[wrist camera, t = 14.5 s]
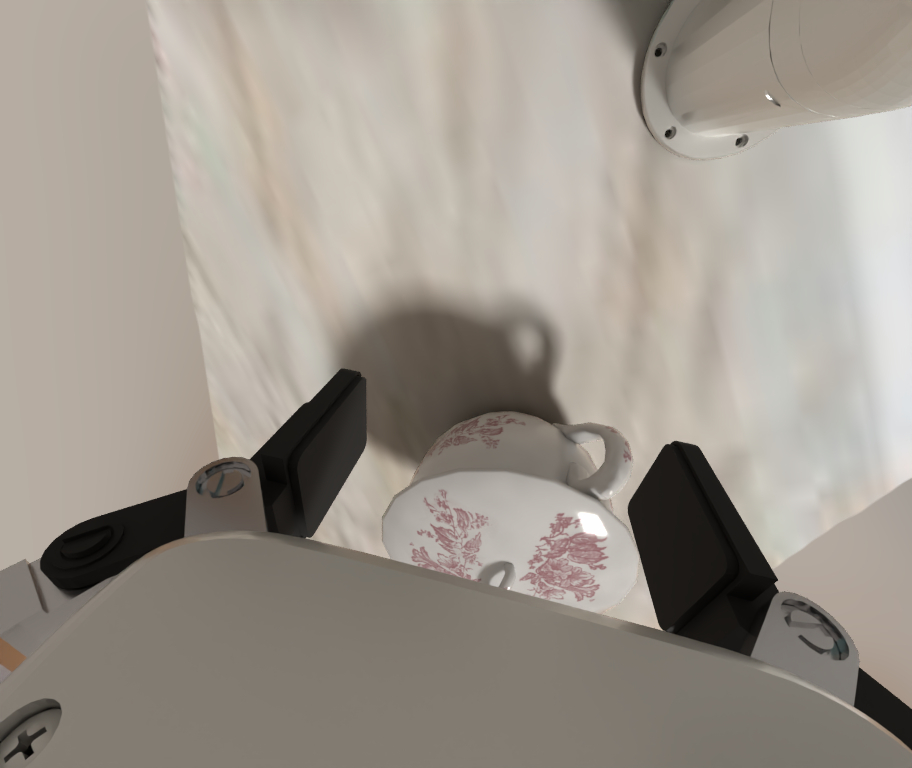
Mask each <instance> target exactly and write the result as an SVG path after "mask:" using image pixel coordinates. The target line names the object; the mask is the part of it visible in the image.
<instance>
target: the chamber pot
mask: <svg viewBox="0 0 912 768" xmlns="http://www.w3.org/2000/svg"><path fill="white" fill-rule="evenodd" d="M593 441H603V442H604V444H605V450H606V452H605V462H604V463H603V464H602V466H601V467H600V468H599V470H597V468H596V466H595V464H594V462H593V460H592V458H591V456H590V455H589V453H588V452H587V451H586V450H585V449H584V448H583V447H582V446H581V445H580V444H583V443H588V442H593ZM632 467H633V457H632V453H631V448H630V445H629V443H628V441H627V440H626V439H625V437H624V436H623V435H622V433H620V432H619V431H618V430H616V429H615V428H613V427H609V426H605V425H601V424H597V423H584V424H577V425H562V424H558V423H553V424H550V423H548V422H546V421H544V420H542V419H541V418H539V417H537V416H533V415H529V414H524V413H519V412H514V411H505V412H489V413H486V414H483V415H480V416H477V417H474V418H471V419H468V420H466V421H463V422H461V423H458V424H456V425H454V426H453V427H452V428H450V429H449V430H448V431H446V432H445V433H444V434H442V435H441V436H440V437H438V438H437V439H436V441H435V442H434V443H433V445H432V446H431V448H430V449H429V450H428V452H427V453H426V454H425V456H424V458H423V459H422V461H421V463H420V464H419V466H418V468H417V469H416V471H415V473H414V475H413V477H412V480H411V482H410V485H409V486H408V487H407V488H405V489H404V490H402V491H401V492H399V493H398V494H396V495H395V496H394V497H393V499H392V501H391V503H390V504H389V506H388V508H387V509H386V511H385V513H384V515H383V516H382V542H383V544H384V546H385V548H386V550H387V552H388V555H389V557H390V559H391V560H395V561H399V562H403V563H407V564H411V565H415V566H419V567H423V568H426V569H430V570H434V571H438V572H442V573H446V574H450V575H454V576H457V577H461V578H465V579H469V580H473V581H477V582H480V583H484V584H488V585H492V586H496V587H500V588H503V589H507V590H511V591H515V592H519V593H522V594H526V595H530V596H534V597H538V598H542V599H545V600H549V601H553V602H557V603H561V604H564V605H568V606H572V607H576V608H579V609H583V610H587V611H590V612H594V613H598V614H603V613H605V612H606V611H608V610H610V609H612V608H613V607H615V606H617V605H619V604H620V603H621V602H622V600H623V599H624V598H625V596H626V595H627V594H628V592H629V591H630V590H631V589H632V587H633V586H634V585H635V583H636V582H637V580H638V571H639V562H640V555H639V551H638V549H637V547H636V545H635V542H634V540H633V538H632V536H631V534H630V532H629V529H628V527H627V526H626V525H625V524H624V523H623V522H622V521H620V520H619V519H618V518H617V517H616V516H615V515H614V511H613V507H612V503H611V497H612V496H614V495H615V494H617V493H618V492H620V491H621V490H622V488H623V487H624V485H625V484H626V483H627V481H628V480H629V478H630V477H631V472H632Z"/></svg>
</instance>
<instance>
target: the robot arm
mask: <svg viewBox="0 0 912 768" xmlns="http://www.w3.org/2000/svg"><path fill="white" fill-rule="evenodd" d="M656 49H659V50H660V51H661V54H660V56H659V57H656V56H655V51H656ZM641 103H642V110H643V115H644V118H645V121H646V123H647V126H648V129H649V130H650V132H651V133H652V135H653V136H654V138H655V139H656V141H657V142H658V143H660V144H661V145H662V146H663V147H664V148H665V149H666V150H668V151H670V152H672V153H673V154H675V155H677V156H680V157H684V158H688V159H692V160H712V159H721V158H725V157H728V156H732V155H736V154H738V153H741V152H743V151H745V150H747V149H750V148H752V147H754V146H756V145H758V144H759V143H761V142H762V141H764V140H765V139H767V138H769V137H770V136H772V135H773V134H774V133H776V132H777V131H778V130H779V129H780V128H783V127H790V126H797V125H804V124H811V123H818V122H825V121H832V120H838V119H845V118H852V117H859V116H863V115H869V114H875V113H881V112H887V111H893V110H897V109H901V108H905V107H909V106H912V0H672V2H671V3H670V5H669V6H668V8H667V10H666V11H665V13H664V14H663V16H662V18H661V20H660V22H659V24H658V26H657V28H656V30H655V32H654V34H653V36H652V39H651V41H650V44H649V47H648V50H647V53H646V56H645V60H644V66H643V71H642V76H641ZM667 130H670V135H669V136H668V137H665V132H666V131H667ZM738 138H739V139H740V142H739V144H738V145H735V143H736V140H737V139H738ZM366 440H367V434H366V379H365V378H364V377H361V373H360V372H357V371H353V370H348V369H340V370H339V371H338V372H337V373H336V374H335V376H334V377H333V378H332V379H331V380H330V381H329V382H328V383H327V384H326V385H325V386H324V387H323V388H322V389H321V390H320V391H319V392H318V393H317V394H316V396H315V397H314V398H313V399H312V400H311V401H310V402H307V403H305V404H303V405H302V406H301V407H300V408H299V409H298V410H297V411H296V412H295V413H294V414H293V415H292V416H291V417H290V418H289V419H288V420H287V422H286V423H285V424H284V425H283V426H282V427H281V428H280V429H279V430H278V431H277V432H276V433H275V434H274V435H273V436H272V437H271V438H270V439H269V440H268V441H267V442H266V443H265V444H264V445H263V446H262V447H261V448H260V449H259V450H258V451H257V453H256V454H255V455H254V456H253V457H252V458H251V459H250V460H249V459H246V458H243V457H230V458H223V459H220V460H217V461H214V462H211V463H210V464H208V465H206V466H204V467H203V468H201V469H200V470H199V471H197V472H196V473H195V474H194V476H193V477H192V478H191V479H190V481H189V484H188V487H187V489H186V490H183V491H180V492H176V493H173V494H170V495H167V496H163V497H160V498H157V499H153V500H150V501H147V502H144V503H141V504H137V505H134V506H131V507H127V508H124V509H121V510H118V511H115V512H111V513H108V514H105V515H101V516H98V517H95V518H92V519H90V520H87V521H84V522H82V523H79V524H78V525H76V526H74V527H72V528H70V529H69V530H67V531H65V532H64V533H63V534H61V535H60V536H59V537H58V538H56V539H55V540H54V541H53V542H52V543H51V544H50V545H49V547H48V548H47V549H46V550H45V551H44V553H43V555H42V557H41V558H40V559H38V560H36V561H34V562H32V563H29V562H28V561H27V560H26V559H24V560H22V561H20V562H18V563H16V564H14V565H12V566H10V567H8V568H6V569H4V570H2V571H0V768H912V709H911V708H909V707H908V706H907V705H906V704H905V703H903V702H902V701H901V700H900V699H898V698H897V697H896V696H894V695H893V694H892V693H891V692H890V691H888V690H887V689H886V688H884V687H883V686H882V685H881V684H879V683H878V682H877V681H876V680H874V679H873V678H872V677H871V676H869V675H868V674H867V673H866V672H864V671H863V670H862V669H861V668H859V654H858V650H857V648H856V646H855V644H854V642H853V640H852V639H851V637H850V636H849V635H848V633H847V632H846V630H845V629H844V628H843V627H842V626H841V625H840V624H839V623H838V622H837V621H836V620H835V619H834V618H833V617H832V616H831V615H830V614H829V613H827V612H826V611H825V610H824V609H823V608H821V607H820V606H819V605H817V604H815V603H814V602H812V601H810V600H809V599H807V598H805V597H803V596H800V595H798V594H795V593H790V592H780V593H779V591H778V590H777V588H776V586H775V584H774V583H775V582H776V581H778V579H777V577H776V576H775V574H774V572H773V571H772V569H771V567H770V565H769V564H768V562H767V560H766V559H765V557H764V555H763V554H762V552H761V550H760V549H759V547H758V545H757V544H756V542H755V540H754V539H753V537H752V535H751V534H750V532H749V530H748V529H747V527H746V525H745V524H744V522H743V520H742V519H741V517H740V515H739V513H738V512H737V510H736V508H735V507H734V505H733V503H732V502H731V500H730V498H729V497H728V495H727V493H726V492H725V490H724V488H723V487H722V485H721V483H720V482H719V480H718V478H717V477H716V475H715V473H714V472H713V470H712V468H711V466H710V465H709V463H708V461H707V460H706V458H705V456H704V455H703V453H702V451H701V450H700V448H699V447H698V446H696V445H693V444H688V443H683V442H679V441H674V442H672V443H671V444H666V445H665V446H664V447H663V449H662V450H661V452H660V453H659V455H658V457H657V458H656V460H655V462H654V463H653V465H652V466H651V468H650V470H649V471H648V473H647V474H646V476H645V478H644V479H643V481H642V482H641V484H640V486H639V487H638V489H637V490H636V492H635V494H634V495H633V497H632V499H631V500H630V502H629V505H628V515H629V519H630V522H631V526H632V529H633V533H634V537H635V540H636V544H637V547H638V551H639V555H640V558H641V562H642V566H643V569H644V573H645V576H646V580H647V584H648V587H649V591H650V594H651V598H652V602H653V605H654V609H655V613H656V616H657V620H658V623H659V626H660V627H661V629H662V630H664V631H661V630H658V629H654V628H650V627H647V626H643V625H639V624H635V623H632V622H628V621H624V620H620V619H617V618H613V617H609V616H605V615H602V614H598V613H594V612H590V611H587V610H583V609H579V608H576V607H572V606H568V605H564V604H561V603H557V602H553V601H549V600H545V599H542V598H538V597H534V596H530V595H526V594H522V593H519V592H515V591H511V590H507V589H503V588H500V587H496V586H492V585H488V584H484V583H480V582H477V581H473V580H469V579H465V578H461V577H457V576H454V575H450V574H446V573H442V572H438V571H434V570H430V569H426V568H423V567H419V566H415V565H411V564H407V563H403V562H399V561H395V560H391V559H387V558H383V557H380V556H376V555H372V554H368V553H364V552H360V551H356V550H352V549H347V548H343V547H339V546H335V545H331V544H326V543H322V542H318V541H314V540H310V539H305V538H306V537H309V538H310V537H312V536H313V535H314V533H315V532H316V530H317V528H318V527H319V525H320V523H321V522H322V520H323V518H324V516H325V515H326V513H327V511H328V510H329V508H330V506H331V505H332V503H333V501H334V500H335V498H336V496H337V495H338V493H339V491H340V490H341V488H342V486H343V485H344V483H345V481H346V480H347V478H348V476H349V474H350V473H351V471H352V469H353V468H354V466H355V464H356V463H357V461H358V459H359V458H360V456H361V454H362V453H363V451H364V449H365V446H366ZM665 631H666V632H665Z"/></svg>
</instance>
